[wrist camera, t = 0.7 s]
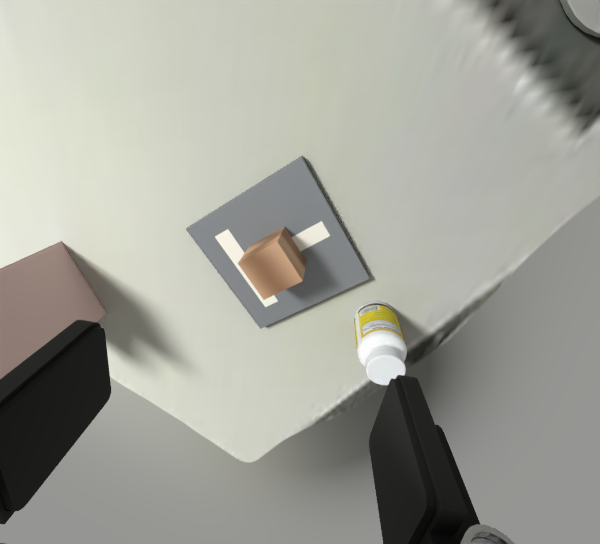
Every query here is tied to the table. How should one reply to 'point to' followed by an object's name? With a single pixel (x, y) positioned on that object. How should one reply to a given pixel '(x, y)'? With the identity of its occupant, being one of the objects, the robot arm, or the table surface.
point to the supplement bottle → (380, 342)
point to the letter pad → (303, 230)
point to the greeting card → (41, 303)
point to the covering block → (273, 263)
